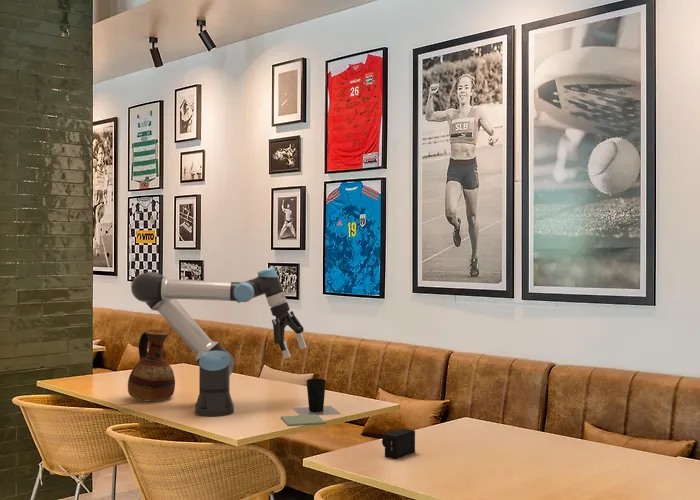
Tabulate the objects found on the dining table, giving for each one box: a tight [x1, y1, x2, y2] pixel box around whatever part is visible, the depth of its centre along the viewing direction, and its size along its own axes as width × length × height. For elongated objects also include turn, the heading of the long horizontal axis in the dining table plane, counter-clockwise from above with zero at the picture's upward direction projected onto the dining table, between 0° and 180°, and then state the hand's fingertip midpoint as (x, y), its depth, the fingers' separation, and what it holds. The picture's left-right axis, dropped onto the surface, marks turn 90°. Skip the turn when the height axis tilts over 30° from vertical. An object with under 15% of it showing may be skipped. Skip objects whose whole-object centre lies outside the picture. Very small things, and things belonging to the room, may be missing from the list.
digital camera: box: [381, 428, 416, 460], centre depth 232 cm, size 10×5×7 cm, turn 141°
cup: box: [306, 378, 327, 412], centre depth 297 cm, size 8×8×12 cm
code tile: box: [292, 405, 342, 416], centre depth 297 cm, size 16×16×1 cm
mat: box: [280, 414, 327, 427], centre depth 279 cm, size 14×14×1 cm
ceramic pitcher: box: [127, 328, 176, 401], centre depth 321 cm, size 20×20×30 cm
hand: (295, 352), depth 308 cm, fingers open, 13 cm apart
